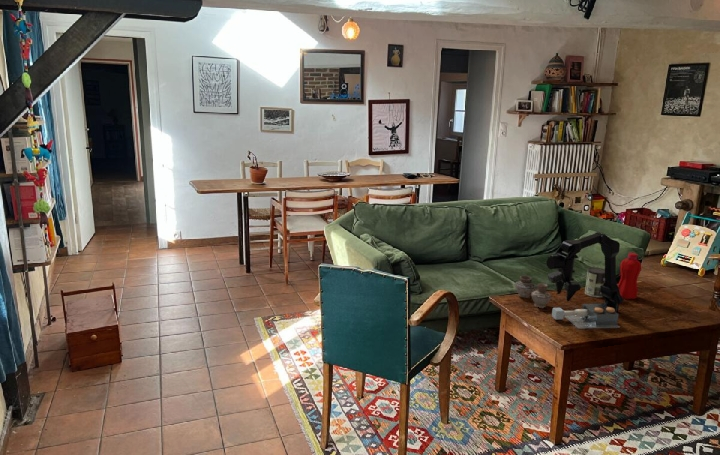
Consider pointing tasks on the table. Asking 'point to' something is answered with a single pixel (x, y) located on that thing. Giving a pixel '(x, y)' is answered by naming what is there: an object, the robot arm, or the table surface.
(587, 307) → the grey slotted base
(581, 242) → the robot arm
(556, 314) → the cube-topped plunger
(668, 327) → the table surface
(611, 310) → the plunger
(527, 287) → the pottery
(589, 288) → the coffee can
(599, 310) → the plunger
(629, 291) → the water bottle
